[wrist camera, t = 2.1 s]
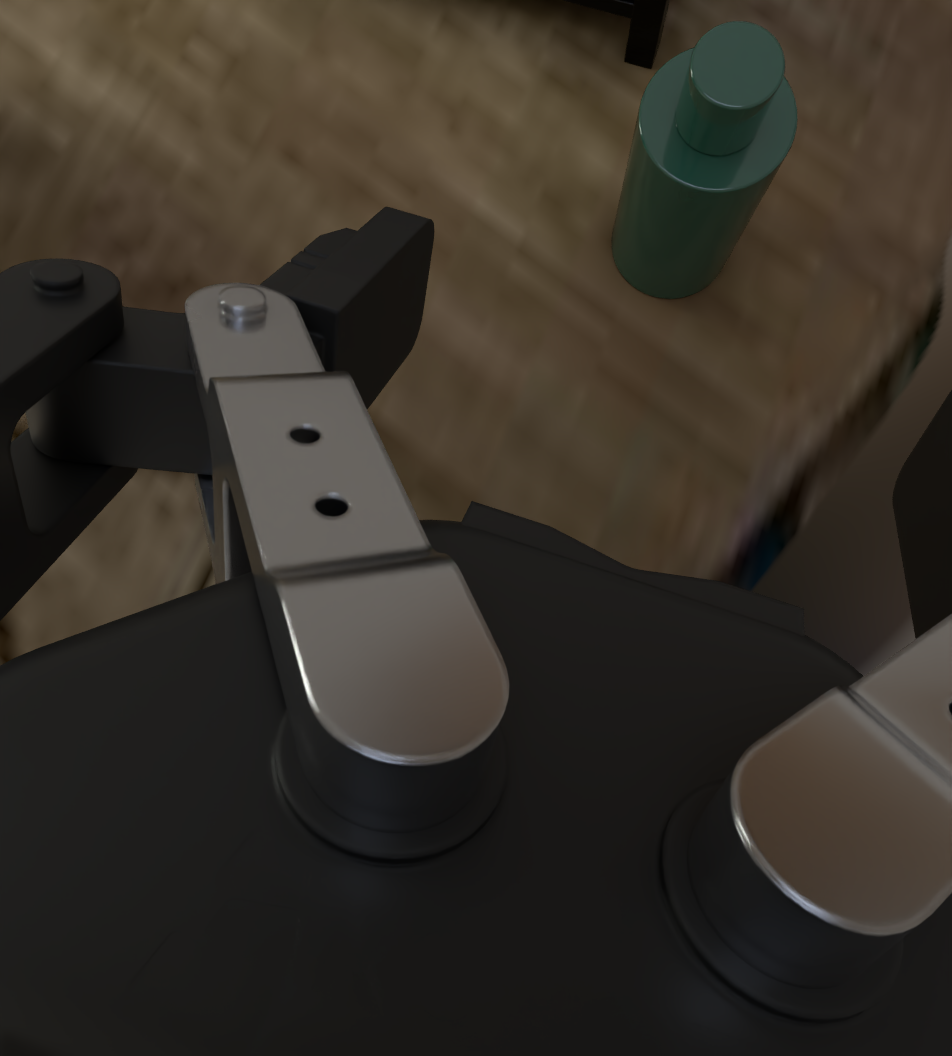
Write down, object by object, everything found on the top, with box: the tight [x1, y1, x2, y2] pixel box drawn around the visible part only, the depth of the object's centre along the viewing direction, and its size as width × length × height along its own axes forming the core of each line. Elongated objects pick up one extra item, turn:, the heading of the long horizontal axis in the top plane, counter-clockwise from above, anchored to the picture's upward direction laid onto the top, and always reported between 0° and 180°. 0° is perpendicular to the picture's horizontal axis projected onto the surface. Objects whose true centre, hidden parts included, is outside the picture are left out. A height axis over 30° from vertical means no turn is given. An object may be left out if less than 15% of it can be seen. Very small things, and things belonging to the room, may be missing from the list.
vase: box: [611, 21, 797, 299], centre depth 29 cm, size 5×5×12 cm
